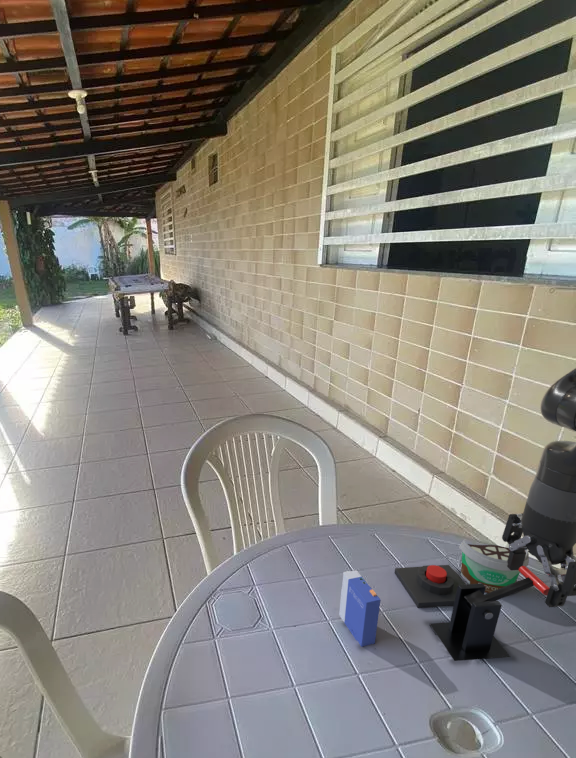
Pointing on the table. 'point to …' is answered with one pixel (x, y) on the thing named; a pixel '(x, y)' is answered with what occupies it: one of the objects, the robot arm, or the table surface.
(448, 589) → the stop block
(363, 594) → the walkman
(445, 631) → the switch bracket
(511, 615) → the table surface
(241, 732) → the table surface
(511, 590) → the lever
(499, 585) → the food container
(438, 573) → the stop button
